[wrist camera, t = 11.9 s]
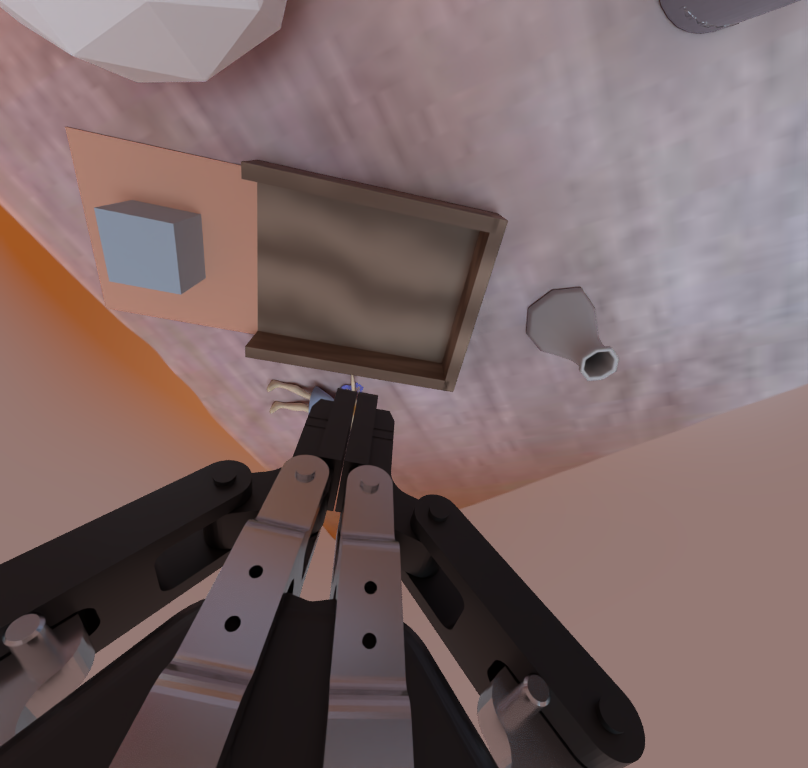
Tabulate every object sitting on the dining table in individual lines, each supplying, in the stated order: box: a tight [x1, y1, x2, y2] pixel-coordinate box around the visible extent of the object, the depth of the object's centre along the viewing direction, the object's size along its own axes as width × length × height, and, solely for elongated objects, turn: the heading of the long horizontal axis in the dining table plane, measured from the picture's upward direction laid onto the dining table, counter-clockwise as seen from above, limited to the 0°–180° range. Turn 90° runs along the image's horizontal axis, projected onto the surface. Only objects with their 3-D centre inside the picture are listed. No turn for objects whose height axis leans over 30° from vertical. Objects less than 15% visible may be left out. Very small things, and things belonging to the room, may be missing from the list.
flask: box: [526, 287, 619, 381], centre depth 37 cm, size 7×7×10 cm
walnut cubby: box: [241, 160, 508, 392], centre depth 37 cm, size 17×22×4 cm
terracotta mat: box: [65, 127, 258, 334], centre depth 36 cm, size 16×16×1 cm
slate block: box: [94, 200, 206, 295], centre depth 34 cm, size 6×6×5 cm
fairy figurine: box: [267, 375, 363, 427], centre depth 45 cm, size 12×5×12 cm
